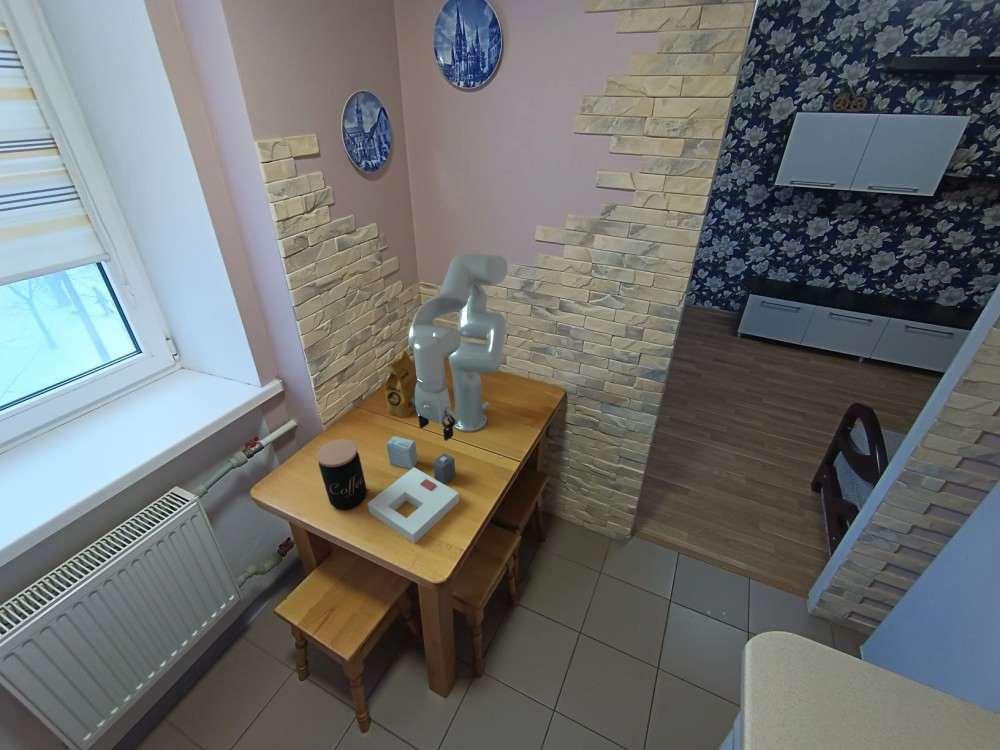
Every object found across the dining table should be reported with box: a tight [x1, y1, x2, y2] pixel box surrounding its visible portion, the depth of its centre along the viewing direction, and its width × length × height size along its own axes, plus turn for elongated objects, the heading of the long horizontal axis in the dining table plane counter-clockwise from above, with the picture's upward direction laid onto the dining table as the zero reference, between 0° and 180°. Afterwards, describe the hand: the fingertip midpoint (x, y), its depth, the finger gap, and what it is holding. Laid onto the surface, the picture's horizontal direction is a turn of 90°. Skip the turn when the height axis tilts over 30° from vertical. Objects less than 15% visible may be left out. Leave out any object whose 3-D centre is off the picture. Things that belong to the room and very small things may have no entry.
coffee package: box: [384, 350, 417, 419], centre depth 166 cm, size 10×12×22 cm
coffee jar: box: [316, 438, 368, 511], centre depth 129 cm, size 11×11×18 cm
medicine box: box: [386, 435, 419, 470], centre depth 144 cm, size 8×4×9 cm, turn 71°
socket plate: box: [366, 467, 460, 544], centre depth 130 cm, size 18×18×4 cm
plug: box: [432, 452, 456, 485], centre depth 139 cm, size 5×4×8 cm
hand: (436, 431), depth 132 cm, fingers open, 9 cm apart
